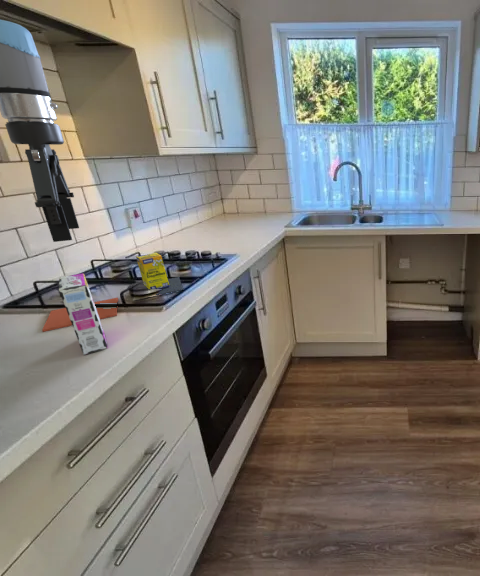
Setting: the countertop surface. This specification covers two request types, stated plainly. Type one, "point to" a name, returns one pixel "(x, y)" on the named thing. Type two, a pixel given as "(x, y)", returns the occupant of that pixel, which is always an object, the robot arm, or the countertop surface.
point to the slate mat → (172, 286)
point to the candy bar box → (82, 313)
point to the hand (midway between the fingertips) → (67, 234)
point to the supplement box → (153, 271)
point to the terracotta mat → (62, 319)
